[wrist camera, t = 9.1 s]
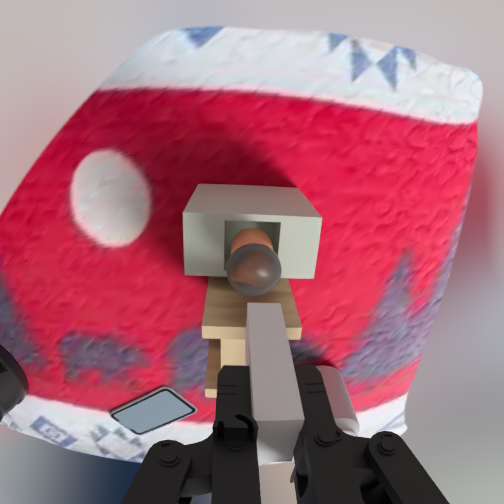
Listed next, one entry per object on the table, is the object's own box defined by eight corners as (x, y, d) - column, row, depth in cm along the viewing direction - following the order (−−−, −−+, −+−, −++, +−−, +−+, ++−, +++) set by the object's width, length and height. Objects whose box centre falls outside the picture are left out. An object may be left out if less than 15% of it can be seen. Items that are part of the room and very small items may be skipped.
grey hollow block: (198, 230, 34) (184, 275, 24) (198, 183, 32) (182, 212, 22) (293, 233, 34) (313, 278, 25) (297, 187, 32) (322, 217, 23)
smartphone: (200, 411, 45) (138, 436, 48) (200, 407, 46) (139, 432, 49) (166, 385, 42) (107, 414, 45) (167, 381, 43) (108, 411, 46)
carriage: (211, 299, 36) (201, 397, 23) (211, 240, 33) (197, 325, 20) (274, 300, 36) (292, 397, 23) (279, 243, 33) (306, 327, 20)
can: (299, 358, 41) (316, 429, 30) (348, 363, 42) (373, 428, 31) (283, 394, 44) (294, 461, 33) (329, 397, 45) (347, 459, 34)
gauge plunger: (227, 267, 24) (226, 294, 21) (229, 224, 23) (227, 245, 19) (272, 268, 25) (278, 296, 21) (276, 226, 23) (284, 247, 20)
